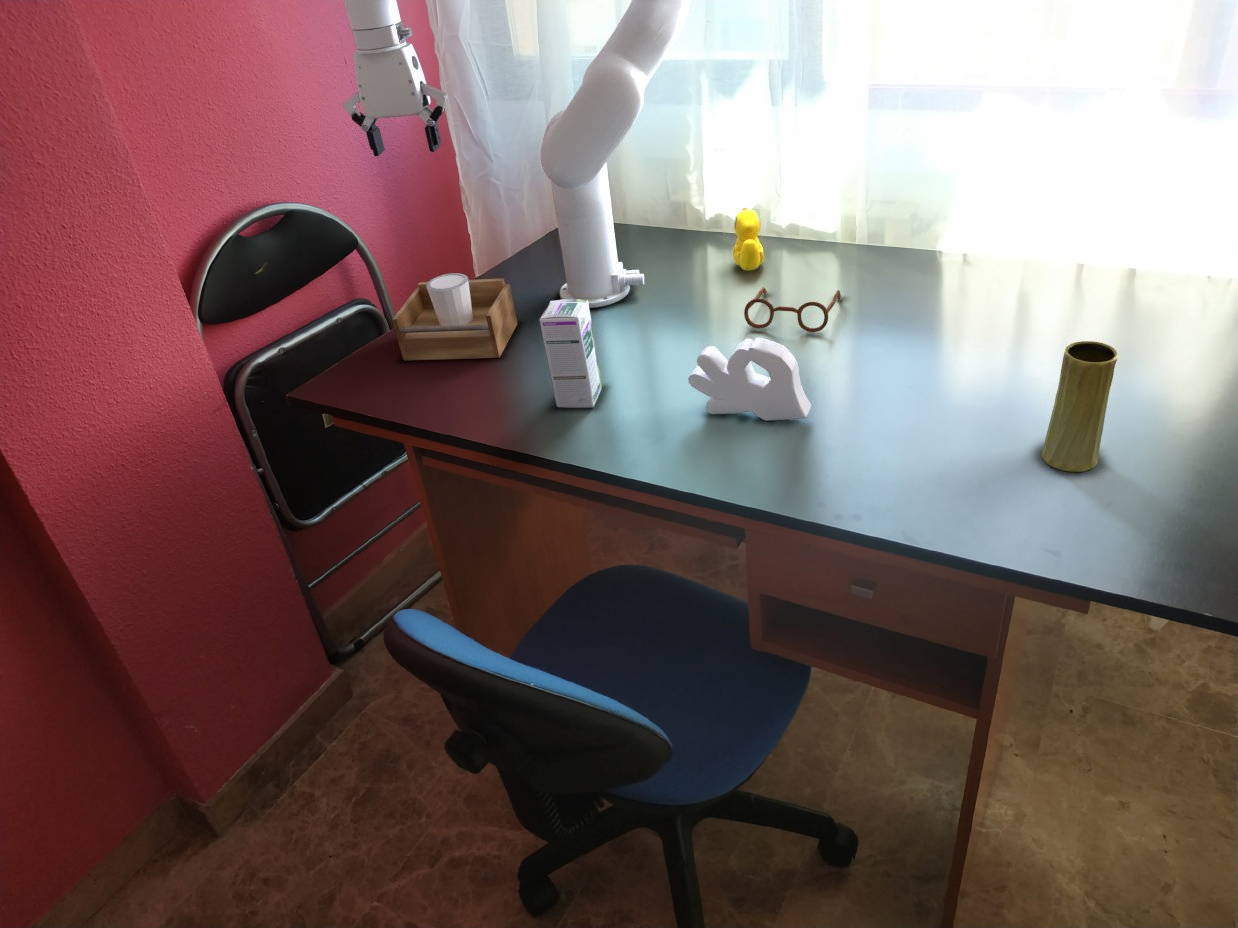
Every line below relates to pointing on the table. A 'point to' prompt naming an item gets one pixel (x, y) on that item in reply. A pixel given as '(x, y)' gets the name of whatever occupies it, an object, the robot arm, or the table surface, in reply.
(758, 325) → the glasses
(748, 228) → the duckling
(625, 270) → the robot arm
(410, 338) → the spice rack
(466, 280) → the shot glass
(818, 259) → the table surface
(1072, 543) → the table surface
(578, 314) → the syrup box
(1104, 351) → the vase
